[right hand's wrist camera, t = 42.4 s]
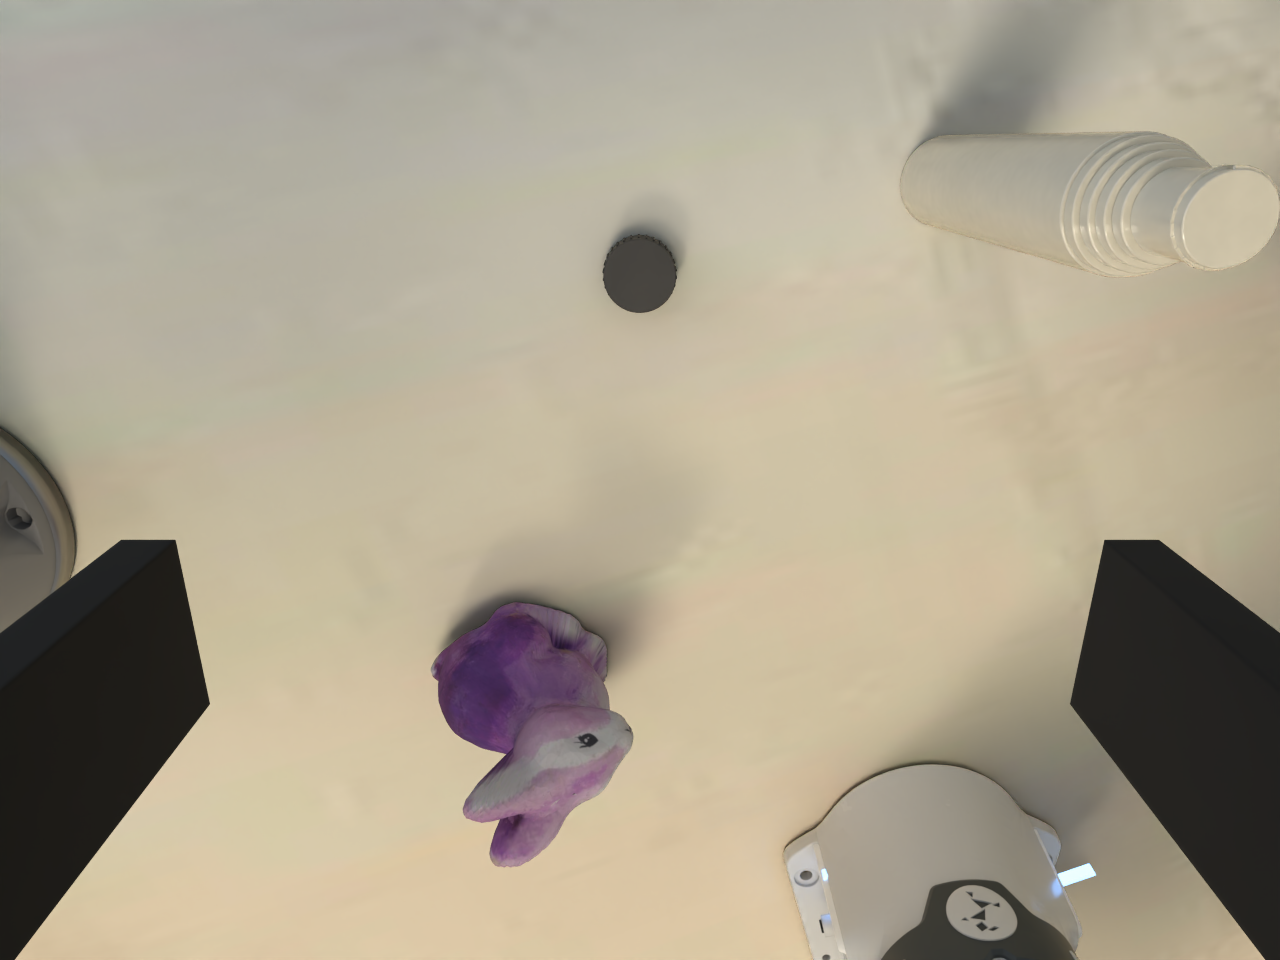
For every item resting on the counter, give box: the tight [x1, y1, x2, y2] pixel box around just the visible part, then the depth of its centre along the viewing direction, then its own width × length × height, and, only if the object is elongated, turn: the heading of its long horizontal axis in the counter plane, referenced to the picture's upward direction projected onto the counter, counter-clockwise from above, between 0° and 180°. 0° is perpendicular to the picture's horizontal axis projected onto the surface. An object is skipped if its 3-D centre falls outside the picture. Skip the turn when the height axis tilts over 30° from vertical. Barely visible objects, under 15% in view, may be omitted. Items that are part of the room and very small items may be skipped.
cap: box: [603, 234, 677, 313], centre depth 46 cm, size 4×4×2 cm
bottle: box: [900, 131, 1280, 277], centre depth 34 cm, size 4×4×24 cm
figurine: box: [431, 602, 633, 867], centre depth 48 cm, size 9×10×15 cm
